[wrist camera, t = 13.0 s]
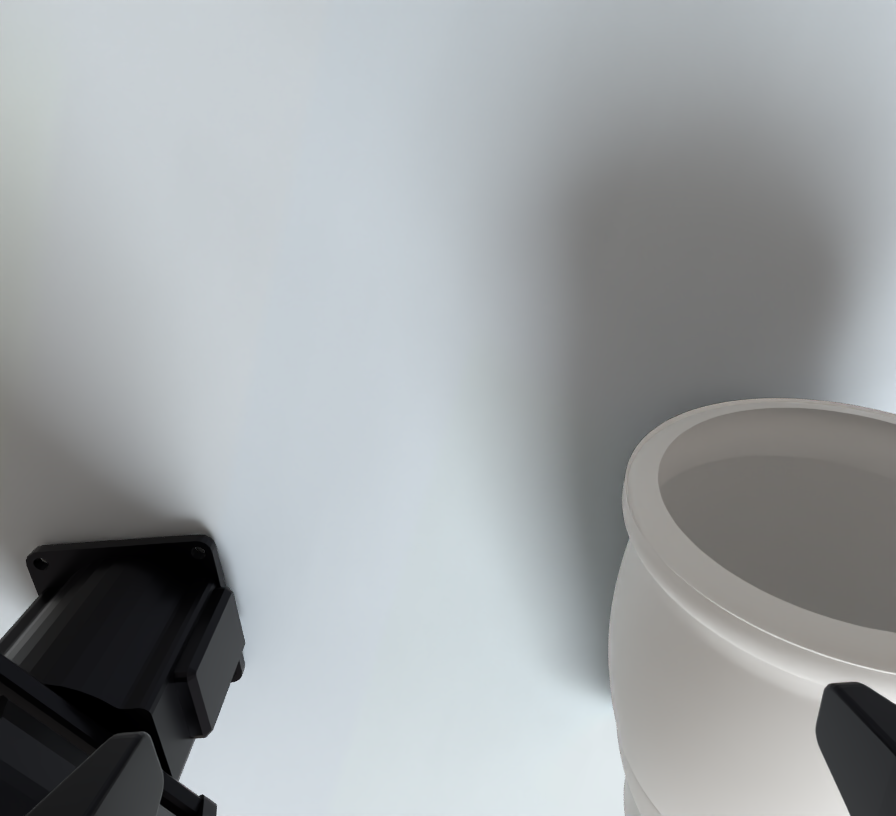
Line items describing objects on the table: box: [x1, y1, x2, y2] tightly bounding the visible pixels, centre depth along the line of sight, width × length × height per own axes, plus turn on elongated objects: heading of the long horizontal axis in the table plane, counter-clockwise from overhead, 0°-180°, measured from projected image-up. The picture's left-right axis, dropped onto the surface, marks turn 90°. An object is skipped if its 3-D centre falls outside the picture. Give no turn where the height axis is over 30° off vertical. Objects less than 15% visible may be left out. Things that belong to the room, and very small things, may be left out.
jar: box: [608, 398, 896, 816], centre depth 19 cm, size 11×10×15 cm
